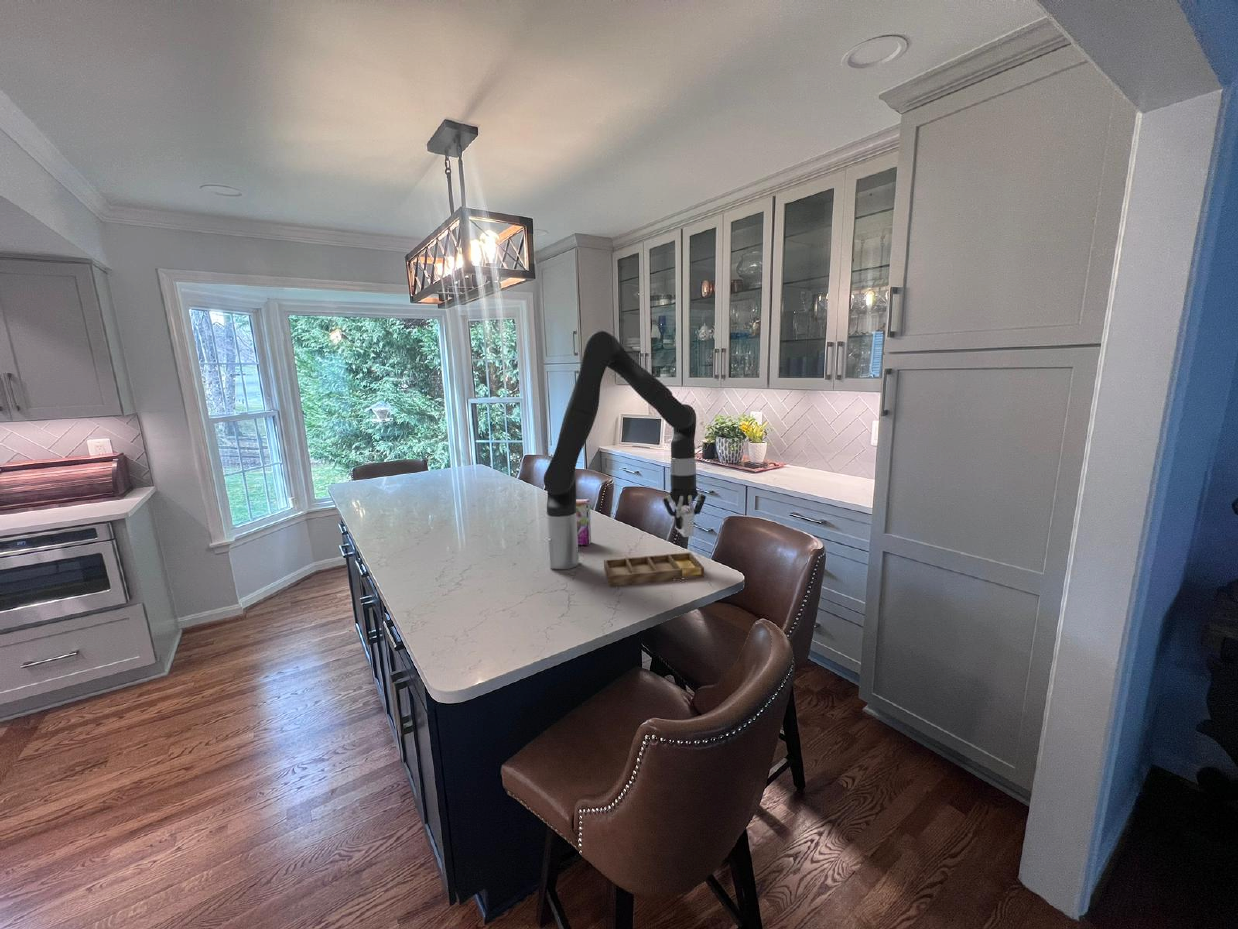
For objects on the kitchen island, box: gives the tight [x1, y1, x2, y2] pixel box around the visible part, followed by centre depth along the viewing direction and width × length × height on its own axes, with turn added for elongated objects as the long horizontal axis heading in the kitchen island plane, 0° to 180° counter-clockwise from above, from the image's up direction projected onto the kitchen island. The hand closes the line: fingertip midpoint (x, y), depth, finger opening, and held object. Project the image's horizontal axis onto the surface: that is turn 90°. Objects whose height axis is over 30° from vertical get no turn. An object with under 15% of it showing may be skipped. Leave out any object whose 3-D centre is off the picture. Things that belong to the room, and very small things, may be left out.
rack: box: [603, 552, 705, 587], centre depth 150 cm, size 28×14×3 cm, turn 99°
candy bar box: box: [576, 498, 592, 547], centre depth 180 cm, size 11×5×16 cm, turn 84°
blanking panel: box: [674, 505, 695, 538], centre depth 150 cm, size 3×10×7 cm, turn 9°
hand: (684, 527), depth 150 cm, fingers closed on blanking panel, 3 cm apart
